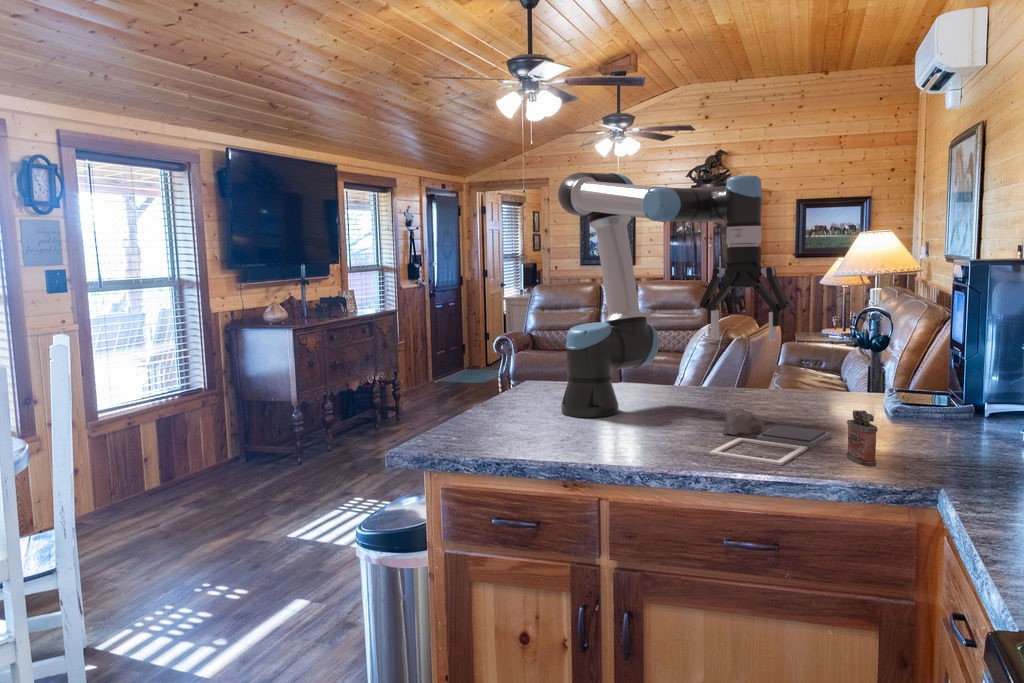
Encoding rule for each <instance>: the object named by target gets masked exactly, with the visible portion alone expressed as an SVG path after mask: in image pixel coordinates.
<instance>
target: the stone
mask: <svg viewBox="0 0 1024 683" xmlns="http://www.w3.org/2000/svg"><path fill="white" fill-rule="evenodd" d="M764 426H765V423H764V420H763V418H762V417H761V416H758V415H755V414H753V413H751V412H750V411H747V410H745V409H743V408H739V407H736V406H735V407H733V408H730V409H729V411H727V413H726V416H725V423H724V424H723V428H722V429H721V433H722V434H724V435H732V436H733V435H734V436H735V435H737V436H738V435H750V434H753V433H758V432H761V431H762V429H763V428H764Z"/></svg>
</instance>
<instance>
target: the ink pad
mask: <svg viewBox="0 0 1024 683" xmlns="http://www.w3.org/2000/svg"><path fill="white" fill-rule="evenodd" d="M829 438H831V432H830V431H826V430H821V429H814V428H813V429H812V428H804V427H795V426H788V425H781V424H780V425H776V426H774V427H771V429H767V430H766V431H765V432H762V433H760V434H758V435H757V436H756V440H760V441H768V442H775V443H782V444H790V445H797V446H805V447H808V449H809V448H810V449H813V448H815V447H817V446H818V445H820V444H822V443H823V442H824V441H826V440H828V439H829Z"/></svg>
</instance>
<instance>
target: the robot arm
mask: <svg viewBox="0 0 1024 683" xmlns="http://www.w3.org/2000/svg"><path fill="white" fill-rule="evenodd" d="M762 191H763V190H762V179H761V178H760V176H757V175H750V174H749V175H734V176H730V177H728V178H727V179H726V185H725V187H720V188H719V187H718V188H687V187H686V188H683V187H682V188H681V187H668V186H666V187H665V186H653V185H643V184H642V185H641V184H634V183H633V181H632V180H631V179H630V178H629V177H627V176H626V175H624V174H619V173H618V174H617V173H612V172H609V173H606V172H605V173H601V172H582V171H581V172H575V173H571V174H570V175H568V176H567V177H565V178H564V179H563V180H562V181H561V183H560V185H559V187H558V191H557V197H558V198H557V199H558V202H559V204H560V206H561V208H562V209H563V210H564V211H566V212H567V213H569V214H571V215H573V216H579V217H580V216H581V217H588V224H589V226H590V227H591V228H592V229H593V230H595V233H596V241H597V247H598V254H599V261H600V267H601V274H602V280H603V281H602V282H603V287H604V294H605V301H606V302H605V303H606V308H607V317H606V318H605V319H604V321H602V322H599V321H598V322H592V323H590V322H588V323H582V324H578V325H575V326H573V327H570V328H569V330H568V332H567V334H566V343H565V346H566V364H567V365H566V366H567V367H566V371H567V373H566V374H567V375H566V376H567V377H566V378H567V383H566V388H565V391H564V395H563V398H562V401H561V404H560V406H561V408H560V409H561V413H562V414H563V415H566V416H570V417H577V418H604V417H610V416H613V415H617V414H618V413H619V402H618V400H617V398H618V397H617V395H616V393H615V392H616V391H615V390H614V386H613V382H612V371H616V370H624V369H636V368H637V369H638V368H639V367H643V366H647V365H648V364H649V365H650V363H652V362H653V360H654V359H655V357H656V356H657V354H658V351H659V347H660V339H659V338H660V337H659V334H658V331H657V329H656V328H655V327H654V326H653V325H652V324H650V323H648V320H647V315H646V314H645V313H643V312H642V311H641V310H640V305H639V299H638V297H639V296H638V293H637V285H636V278H635V272H634V271H635V270H634V266H633V259H632V258H633V257H632V252H631V251H632V250H631V245H630V238H629V233H628V232H629V231H628V224H629V223H630V221H631V220H632V217H634V218H641V219H649V220H650V221H653V222H658V223H667V222H684V223H685V222H688V223H689V222H692V223H699V224H701V223H705V224H706V223H709V222H710V223H711V222H721V221H726V241H725V242H726V245H728V247H726V250H725V251H726V256H725V257H726V259H725V262H726V267H725V268H722V267H713V269H712V274H711V279H710V280H709V283H708V285H707V288H706V289H705V292H704V294H703V296H702V298H701V300H700V302H699V307H700V308H703V309H706V312H707V317H706V318H707V321H706V322H707V324H709V325H710V339H714V340H715V339H719V338H720V309H717V307H718V306H719V305H720V304H721V303H722V301H723V300H724V299H725V297H726V296H727V295H728V294H729V293H730V292H731V290H732V289H734V288H753V289H754V290H755V291H756V292H757V293H758V295H759V296H760V297H761V298H762V300H763V301H764V302H765V303H766V304H767V305H768V307H769V308H770V309H771V311H769V312H768V342H769V343H771V342H775V341H777V328H778V327H780V326H781V324H782V311H785V310H787V309H790V303H789V301H788V299H787V296H786V295H785V292H784V290H783V288H782V285H781V284H780V282H779V280H778V277H777V272H776V268H775V267H774V266H767V267H765V268H762V265H761V264H762V247H761V246H759V244H761V243H762V207H763V206H762V204H763V203H762V202H763V192H762ZM724 275H725V276H726V278H727V280H726V281H725V282H724V284H723V286H721V288H720V290H719V291H718V292H717V293H716V294H715V292H716V290H717V288H718V287H719V284H720V281H721V280H722V278H723V277H724ZM762 275H764V276H763V277H765V278H766V280H767V282H768V284H769V286H770V289H771V290H772V292H773V295H774V296H775V297H774V296H773V295H772V294H771V293H770V291H769V290H768V289H767V288H766V287H765V285H764V283H763V281H761V279H760V278H761V277H762ZM714 295H715V296H714Z"/></svg>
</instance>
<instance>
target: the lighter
mask: <svg viewBox="0 0 1024 683" xmlns="http://www.w3.org/2000/svg"><path fill="white" fill-rule="evenodd" d="M852 418H853V419H848V420H846V425H847V452H846V453H845V454H846V456H845V457H846V459H848V460H850V462H853V463H855V464H857V465H860V466H863V467H866V468H869V467H870V468H875V467H877V459H876V454H877V451H876V450H877V449H876V448H877V432H878V427H877V426H876V425H874V424H872V423H871V422H874V420H875V419H874V418H875V416H874V415H873V414H871V413H869V412H867V410H863V409H862V410H859V409H858V410H857V409H854V410H852Z"/></svg>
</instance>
